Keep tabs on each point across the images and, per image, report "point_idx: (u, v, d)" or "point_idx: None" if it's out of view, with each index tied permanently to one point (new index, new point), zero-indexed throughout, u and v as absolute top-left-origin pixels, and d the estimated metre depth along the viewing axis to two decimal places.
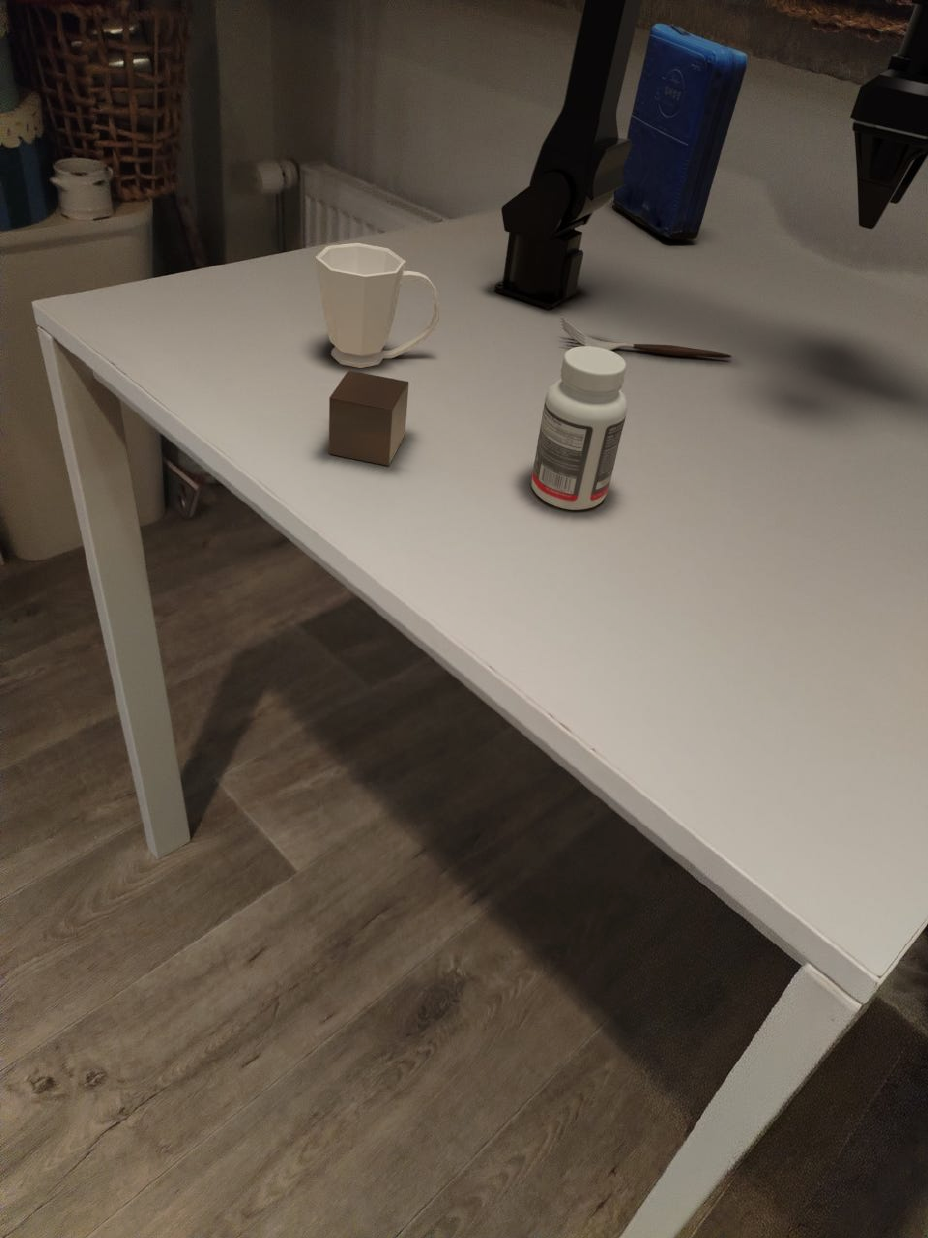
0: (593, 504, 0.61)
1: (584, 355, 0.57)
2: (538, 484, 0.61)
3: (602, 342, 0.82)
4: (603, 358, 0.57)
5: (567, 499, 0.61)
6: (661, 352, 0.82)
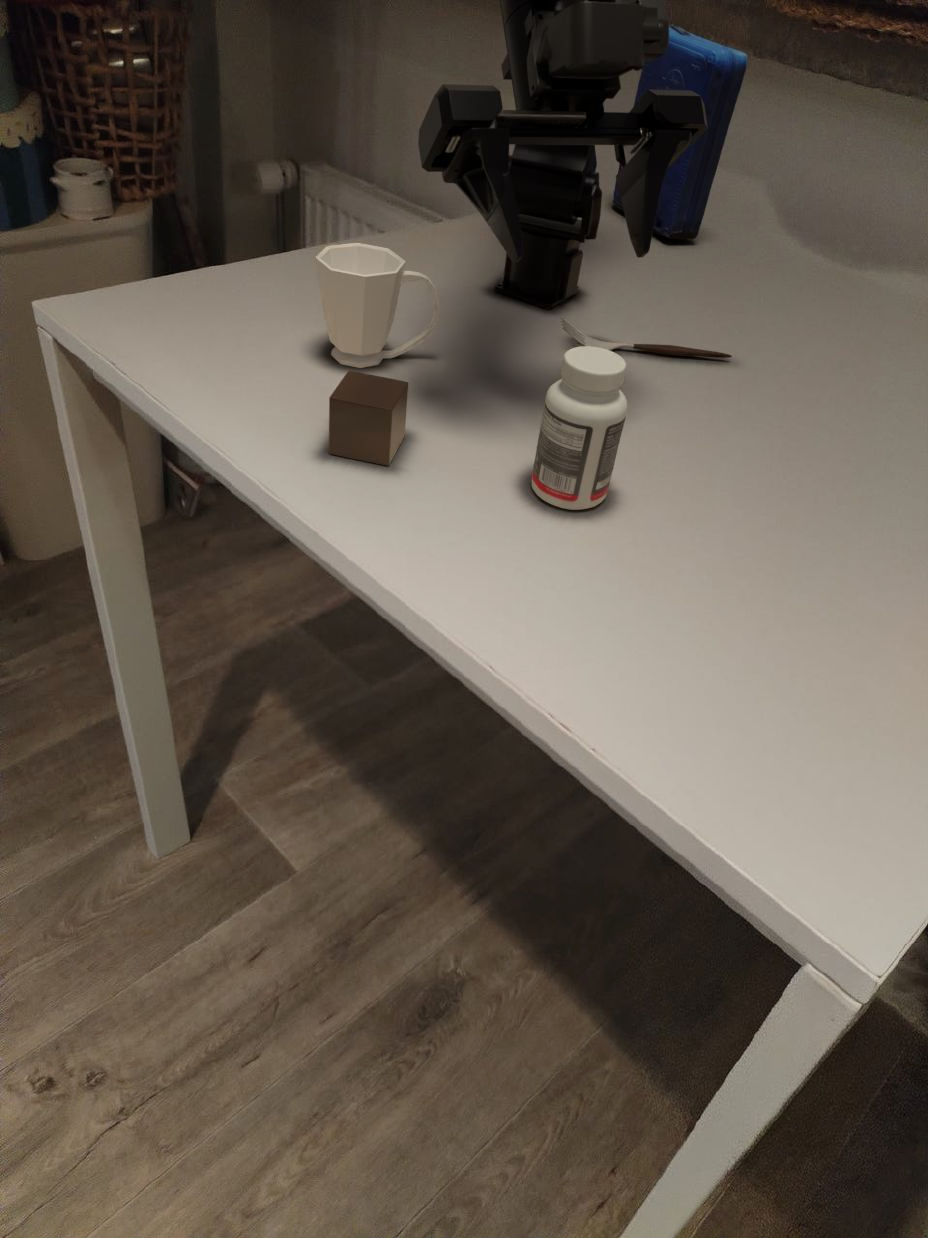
0: (593, 504, 0.61)
1: (584, 355, 0.57)
2: (538, 484, 0.61)
3: (602, 342, 0.82)
4: (603, 358, 0.57)
5: (567, 499, 0.61)
6: (661, 352, 0.82)
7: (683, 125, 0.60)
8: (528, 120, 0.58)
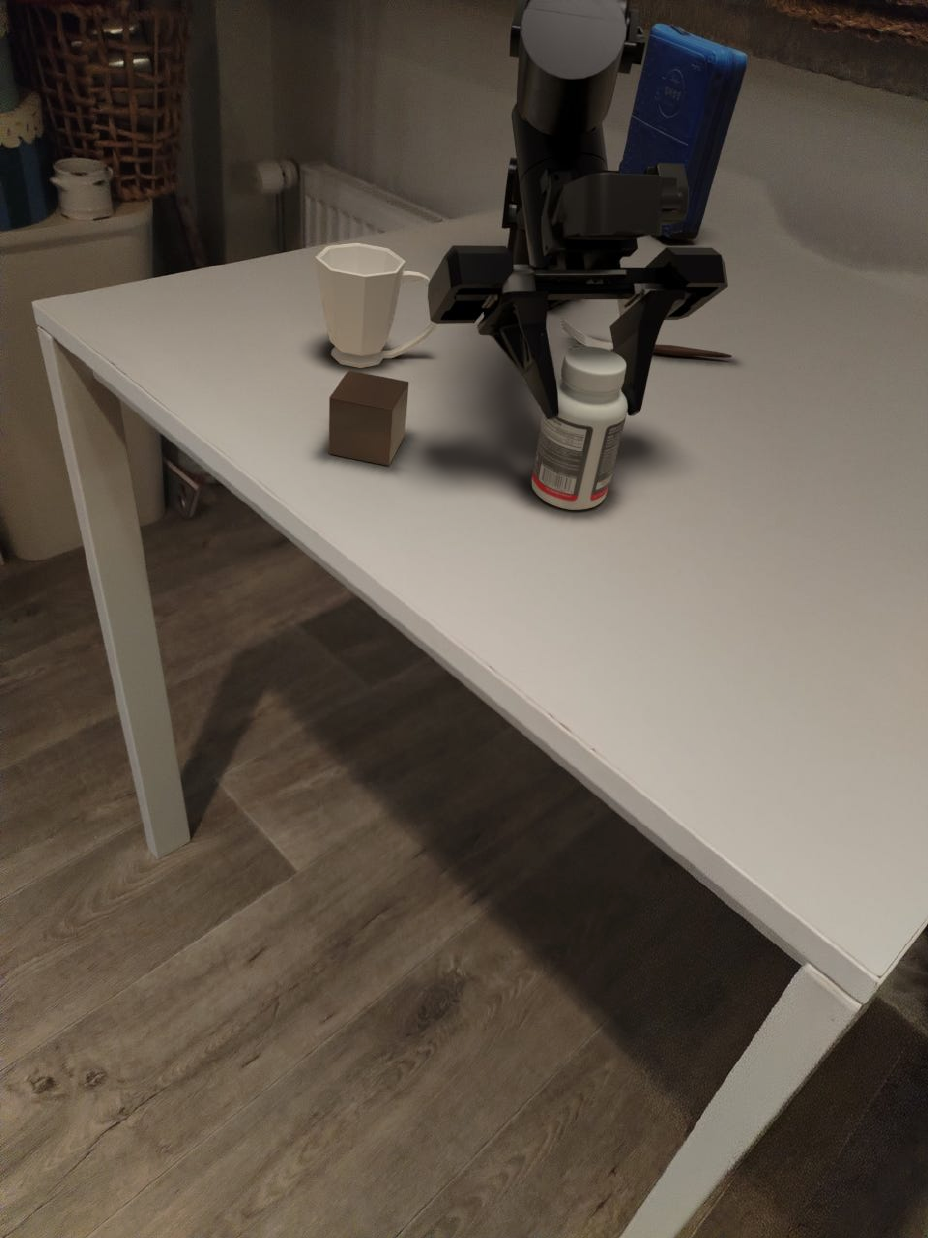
0: (593, 504, 0.61)
1: (585, 355, 0.57)
2: (538, 484, 0.61)
3: (602, 342, 0.82)
4: (604, 358, 0.57)
5: (567, 499, 0.61)
6: (661, 352, 0.82)
7: (702, 284, 0.58)
8: (567, 278, 0.57)
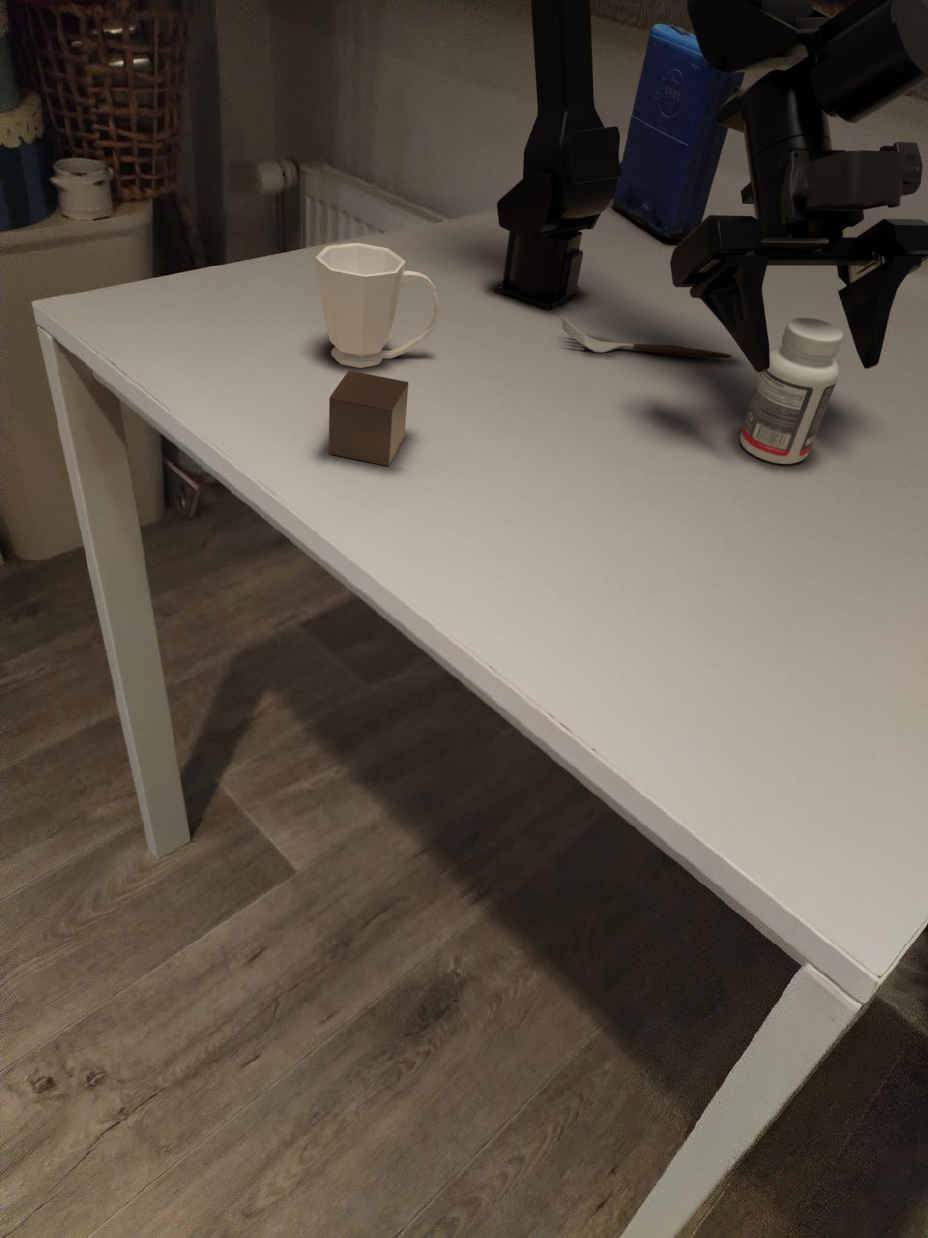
0: (800, 459, 0.69)
1: (805, 325, 0.65)
2: (751, 441, 0.69)
3: (602, 342, 0.82)
4: (822, 327, 0.65)
5: (779, 454, 0.68)
6: (661, 352, 0.82)
7: (916, 251, 0.65)
8: (777, 245, 0.64)
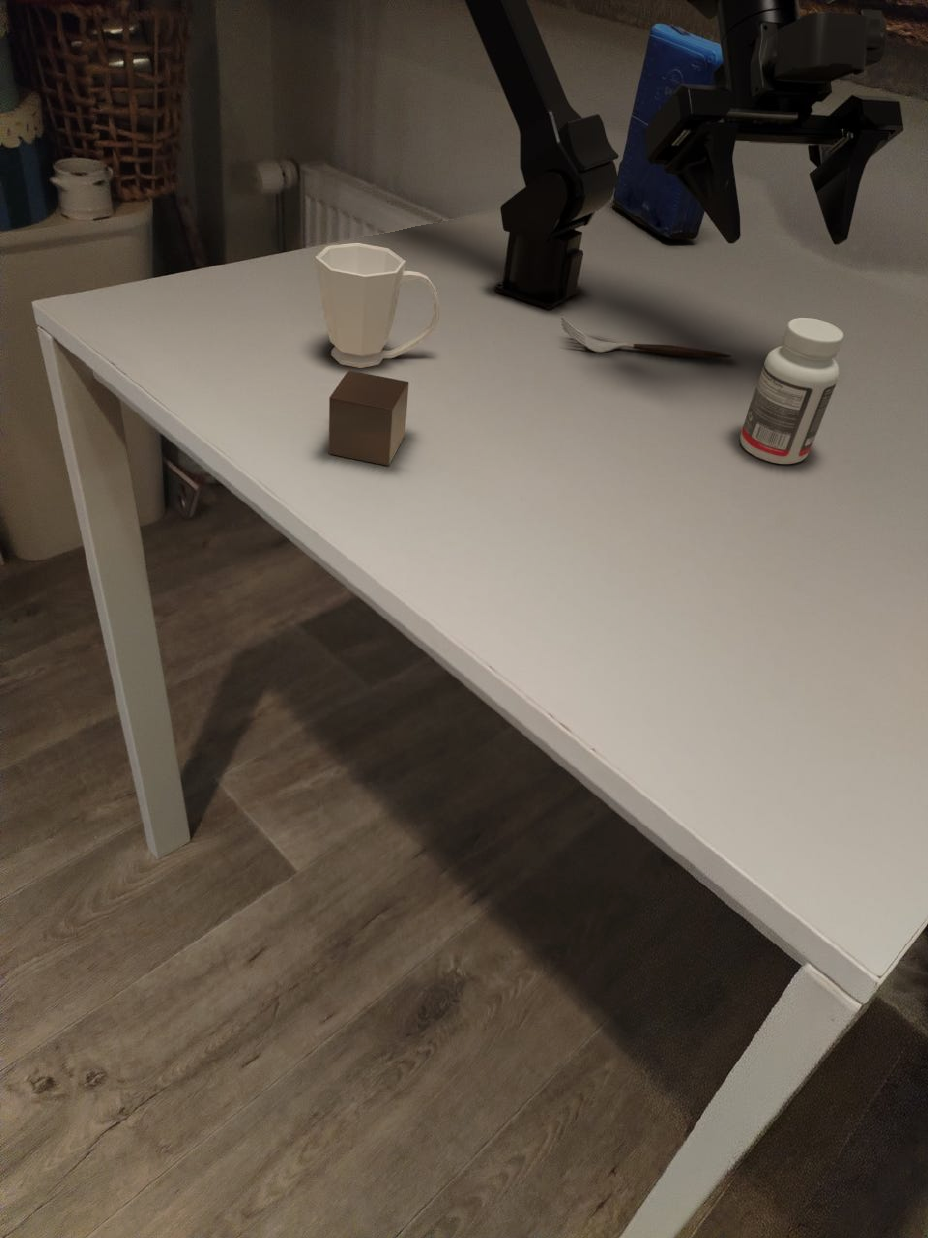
0: (800, 459, 0.69)
1: (805, 325, 0.65)
2: (750, 441, 0.69)
3: (602, 342, 0.82)
4: (822, 328, 0.65)
5: (779, 454, 0.68)
6: (661, 352, 0.82)
7: (883, 126, 0.66)
8: (747, 118, 0.65)
